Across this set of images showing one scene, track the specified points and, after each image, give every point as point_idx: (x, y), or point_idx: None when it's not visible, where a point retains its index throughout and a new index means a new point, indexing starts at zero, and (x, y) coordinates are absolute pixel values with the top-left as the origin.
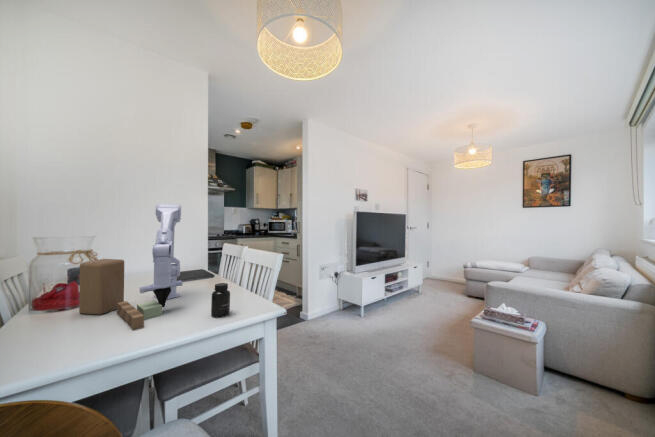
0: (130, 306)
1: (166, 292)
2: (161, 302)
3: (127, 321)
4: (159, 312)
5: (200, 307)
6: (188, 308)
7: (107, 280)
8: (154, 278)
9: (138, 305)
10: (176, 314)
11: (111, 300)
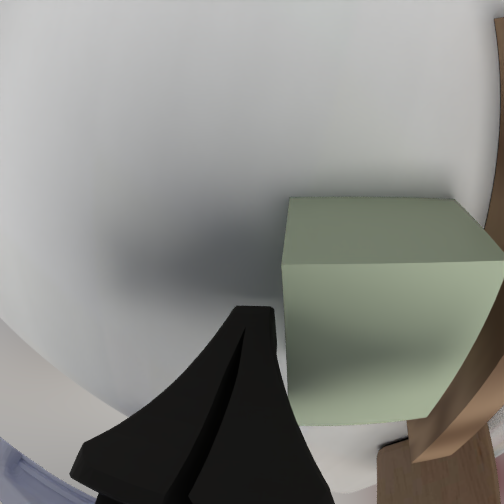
0: (483, 396)
1: (152, 465)
2: (262, 350)
3: None
4: (316, 215)
5: (9, 173)
6: (67, 209)
7: None
8: None
9: (438, 398)
10: (161, 111)
11: (445, 472)
